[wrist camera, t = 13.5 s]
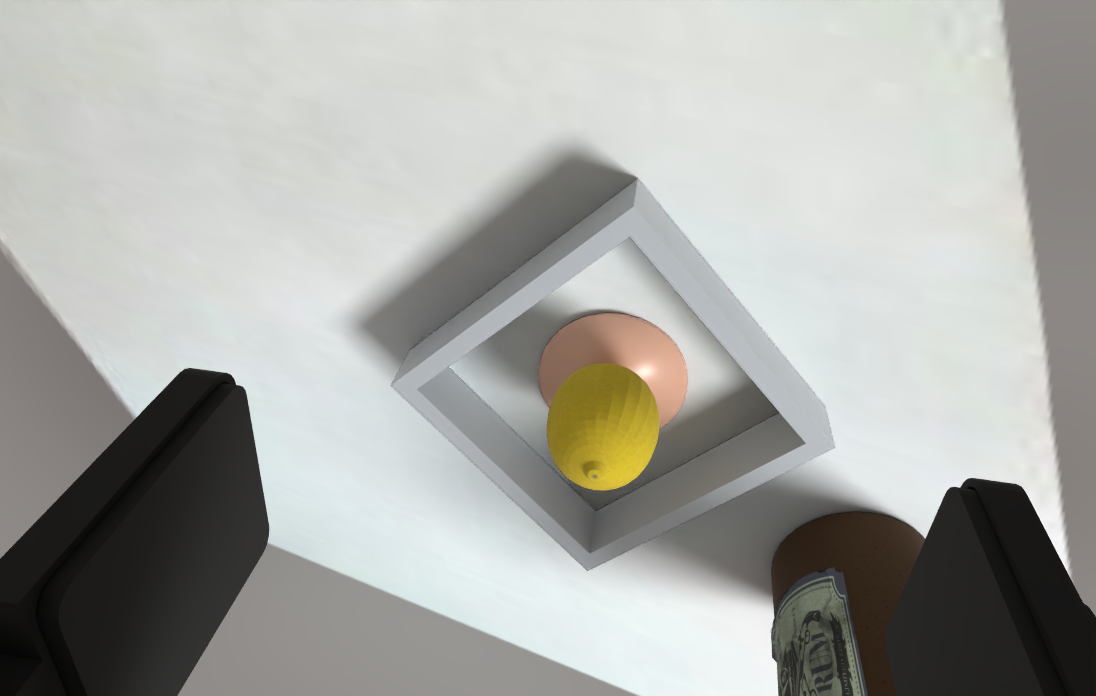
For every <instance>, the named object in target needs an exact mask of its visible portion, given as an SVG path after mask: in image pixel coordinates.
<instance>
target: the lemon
mask: <svg viewBox="0 0 1096 696" xmlns="http://www.w3.org/2000/svg"><path fill="white" fill-rule="evenodd" d="M659 424H660V418H659V412H658V408H657V403H656V400H655V397H654V395H653V393H652V391H651V390H650V388H649V386H648V385H647V383H646V382H645V381H644V380H643V379H642V378H641V377H640V376H639V375H638V374H636V373H635V372H633V371H631V370H630V369H628V368H626V367H623V366H621V365H618V364H612V363H596V364H592V365H589V366H586V367H583V368H581V369H579V370H577V371H576V372H574V373H573V374H571V375H570V376H569V377H568V378H567V379H566V380H565V381H564V382H563V383H562V384H561V386H560V387H559V388H558V390H557V392H556V394H555V396H554V398H553V400H552V403H551V405H550V408H549V414H548V421H547V437H548V443H549V449H550V453H551V455H552V457H553V459H554V462H555V464H556V466H557V467H558V468H559V469H560V471H561V472H562V473H563V474H564V475H565V476H566V477H567V478H568V479H569V480H571V481H572V482H574V483H575V484H578V485H580V486H582V487H584V488H588V489H592V490H603V491H605V490H611V489H617V488H619V487H622V486H624V485H626V484H628V483H630V482H631V481H632V480H634V479H635V478H637V477H638V476H639V475H640V473H641V472H642V471H643V470H644V469H645V467H646V466H647V465H648V463H649V461H650V459H651V457H652V454H653V452H654V449H655V447H656V444H657V441H658V435H659Z"/></svg>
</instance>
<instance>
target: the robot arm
mask: <svg viewBox="0 0 1096 696" xmlns="http://www.w3.org/2000/svg"><path fill="white" fill-rule="evenodd" d="M268 537H269V523H268V517H267V511H266V505H265V499H264V493H263V488H262V482H261V476H260V470H259V464H258V458H257V452H256V447H255V441H254V435H253V429H252V423H251V417H250V412H249V406H248V400H247V395H246V391H245V389H244V388H243V387H242V386H239V385H236V383H235V380H234V378H233V377H232V376H231V375H230V374H228V373H222V372H215V371H208V370H201V369H194V368H188V369H184V370H183V371H182V372H180V373H179V374H178V375H177V376H176V377H175V378H174V379H173V380H172V381H171V382H170V383H169V384H168V385H167V387H166V388H165V389H164V390H163V391H162V392H161V393H160V394H159V395H158V396H157V397H156V398H155V399H154V400H153V401H152V402H151V403H150V404H149V405H148V406H147V407H146V408H145V409H144V410H143V411H142V412H141V413H140V415H139V416H138V417H137V418H136V419H135V420H134V421H133V422H132V423H131V424H130V425H129V426H128V427H127V428H126V429H125V430H124V431H123V432H122V433H121V434H120V435H119V436H118V437H117V438H116V440H114V441H113V443H112V444H111V445H110V446H109V447H108V448H107V449H106V450H105V451H104V452H103V453H102V454H101V455H100V456H99V457H98V458H97V459H96V460H95V461H94V462H93V463H92V464H91V466H89V468H87V469H86V470H85V472H84V473H83V474H82V475H81V476H80V477H79V478H78V479H77V480H76V481H75V482H74V483H73V484H72V485H71V486H70V487H69V488H68V489H67V490H66V491H65V492H64V493H63V494H62V496H60V497H59V499H58V500H57V501H56V502H55V503H54V504H53V505H52V506H51V507H50V508H49V509H48V510H47V511H46V512H45V513H44V514H43V515H42V516H41V517H40V518H39V519H38V520H37V521H36V522H35V523H34V524H33V526H31V528H30V529H29V530H28V531H27V532H26V533H25V534H24V535H23V536H22V537H21V538H20V539H19V540H18V541H17V542H16V543H15V544H14V545H13V546H12V547H11V548H10V549H9V550H8V551H7V552H6V553H5V555H4V556H3V557H2V558H1V559H0V696H177V695H178V694H179V692H180V690H181V689H182V687H183V685H184V683H185V682H186V680H187V678H188V677H189V675H190V674H191V672H192V670H193V669H194V667H195V665H196V664H197V662H198V660H199V659H200V657H201V655H202V654H203V652H204V651H205V649H206V647H207V646H208V644H209V642H210V641H211V639H212V637H213V636H214V634H215V632H216V630H217V629H218V627H219V626H220V624H221V622H222V621H223V619H224V617H225V616H226V614H227V612H228V611H229V609H230V607H231V606H232V604H233V602H234V601H235V599H236V597H237V596H238V594H239V592H240V591H241V589H242V587H243V586H244V584H245V582H246V581H247V579H248V577H249V576H250V574H251V572H252V571H253V569H254V567H255V566H256V564H257V562H258V560H259V559H260V557H261V556H262V554H263V552H264V550H265V548H266V545H267V542H268ZM886 651H887V656H888V660H889V665H890V669H891V673H892V677H893V681H894V685H895V689H896V693H897V696H1096V617H1095V615H1094V614H1093V612H1092V611H1091V609H1090V608H1089V607H1088V606H1087V605H1085V604H1084V603H1083V602H1082V600H1081V598H1080V596H1079V594H1078V592H1077V590H1076V588H1075V586H1074V585H1073V583H1072V581H1071V579H1070V577H1069V575H1068V573H1067V571H1066V569H1065V567H1064V565H1063V563H1062V561H1061V559H1060V558H1059V556H1058V554H1057V552H1056V550H1055V548H1054V546H1053V544H1052V542H1051V540H1050V538H1049V536H1048V534H1047V532H1046V530H1045V529H1044V527H1043V525H1042V523H1041V521H1040V519H1039V517H1038V515H1037V513H1036V511H1035V509H1034V507H1033V505H1032V503H1031V501H1030V500H1029V498H1028V496H1027V494H1026V492H1025V491H1024V489H1023V488H1022V487H1021V486H1019V485H1017V484H1012V483H1005V482H997V481H990V480H983V479H976V478H969V479H967V480H966V481H965V482H964V483H963V484H962V486H961V488H958V487H951V488H950V489H948V490H947V492H946V494H945V496H944V498H943V500H942V503H941V505H940V507H939V509H938V512H937V514H936V516H935V519H934V521H933V523H932V526H931V528H930V530H929V532H928V535H927V537H926V539H925V542H924V544H923V546H922V548H921V551H920V553H919V555H918V558H917V560H916V562H915V564H914V567H913V569H912V571H911V574H910V576H909V578H908V580H907V583H906V585H905V587H904V590H903V592H902V594H901V596H900V599H899V601H898V603H897V606H896V608H895V610H894V612H893V615H892V617H891V619H890V622H889V624H888V627H887V633H886Z"/></svg>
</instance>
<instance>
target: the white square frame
mask: <svg viewBox="0 0 1096 696" xmlns="http://www.w3.org/2000/svg"><path fill="white" fill-rule="evenodd" d="M628 237H631V239H632V240H633V241H634V242H635V243H636V244H637V246H638V247H639V248H640V249H641V250H642V252H643V253H644V254H645V255H646V256H647V257H648V259H649V260H650V261H651V262H652V263H653V264H654V266H655V267H656V268H657V269H658V270H659V271H660V273H661V274H662V275H663V276H664V277H665V279H666V280H667V281H668V282H669V283H670V284H671V286H672V287H673V288H674V289H675V290H676V291H677V293H678V294H679V295H680V296H681V297H682V298H683V300H684V301H685V302H686V303H687V304H688V306H689V307H690V308H691V309H692V310H693V311H694V313H695V314H696V315H697V316H698V317H699V318H700V320H701V321H702V322H703V323H704V324H705V325H706V327H707V328H708V329H709V330H710V331H711V333H712V334H713V335H714V336H715V337H716V338H717V340H718V341H719V342H720V343H721V344H722V345H723V347H724V348H725V349H726V350H727V351H728V352H729V354H730V355H731V356H732V357H733V358H734V360H735V361H736V362H737V363H738V364H739V365H740V367H741V368H742V369H743V370H744V371H745V372H746V374H747V375H748V376H749V377H750V378H751V379H752V381H753V382H754V383H755V384H756V385H757V387H758V388H759V389H760V390H761V391H762V392H763V394H764V395H765V396H766V397H767V398H768V399H769V401H770V402H771V403H772V404H773V405H774V406H775V408H776V409H777V410H778V411H779V413H778V414H776V415H774V416H772V417H770V418H768V419H766V420H765V421H763V422H761V423H759V424H757V425H755V426H753V427H752V428H750V429H748V430H746V431H744V432H742V433H740V434H739V435H737V436H735V437H733V438H731V439H729V440H727V441H726V442H724V443H722V444H720V445H718V446H716V447H714V448H713V449H711V450H709V451H707V452H705V453H703V454H701V455H700V456H698V457H696V458H694V459H692V460H690V461H688V462H687V463H685V464H683V465H681V466H679V467H677V468H675V469H673V470H672V471H670V472H668V473H666V474H664V475H662V476H660V477H659V478H657V479H655V480H653V481H651V482H649V483H647V484H646V485H644V486H642V487H640V488H638V489H636V490H634V491H633V492H631V493H629V494H627V495H625V496H623V497H621V498H620V499H618V500H616V501H614V502H612V503H610V504H608V505H607V506H605V507H603V508H601V509H599V510H597V511H595V510H594V509H593V508H592V507H591V506H590V505H589V504H588V503H587V502H586V501H585V500H584V499H583V498H582V497H581V496H579V495H578V494H577V493H576V492H575V491H574V490H573V489H572V488H571V487H570V486H569V485H568V484H567V483H566V482H565V481H564V480H563V479H562V478H561V477H560V476H559V475H558V474H557V473H556V472H555V471H554V470H553V469H552V468H551V467H550V466H549V465H548V464H547V463H546V462H545V461H544V460H543V459H542V458H541V457H540V456H539V455H538V454H537V453H536V452H535V451H534V450H533V449H532V448H531V447H530V446H529V445H528V444H526V443H525V442H524V441H523V440H522V439H521V438H520V437H519V436H518V435H517V434H516V433H515V432H514V431H513V430H512V429H511V428H510V427H509V426H508V425H507V424H506V423H505V422H504V421H503V420H502V419H501V418H500V417H499V416H498V415H497V414H496V413H495V412H494V411H493V410H492V409H491V408H490V407H489V406H488V405H487V404H486V403H485V402H484V401H483V400H482V399H481V398H480V397H479V396H478V395H477V394H476V393H475V392H473V391H472V390H471V389H470V388H469V387H468V386H467V385H466V384H465V383H464V382H463V381H462V380H461V379H460V378H459V377H458V376H457V375H456V374H455V373H454V372H453V371H452V370H451V369H450V368H449V366H450V365H451V364H453V363H454V362H456V361H457V360H458V359H460V358H461V357H463V356H464V355H465V354H467V353H468V352H470V351H471V350H472V349H474V348H475V347H476V346H478V345H479V344H481V343H482V342H483V341H485V340H486V339H488V338H489V337H490V336H492V335H493V334H495V333H496V332H497V331H499V330H500V329H502V328H503V327H504V326H506V325H507V324H509V323H510V322H511V321H513V320H514V319H516V318H517V317H518V316H520V315H521V314H522V313H524V312H525V311H527V310H528V309H529V308H531V307H532V306H534V305H535V304H536V303H538V302H539V301H541V300H542V299H543V298H545V297H546V296H548V295H549V294H550V293H552V292H553V291H555V290H556V289H557V288H559V287H560V286H562V285H563V284H564V283H566V282H567V281H569V280H570V279H571V278H573V277H574V276H575V275H577V274H578V273H580V272H581V271H582V270H584V269H585V268H587V267H588V266H589V265H591V264H592V263H594V262H595V261H596V260H598V259H599V258H601V257H602V256H603V255H605V254H606V253H608V252H609V251H610V250H612V249H613V248H615V247H616V246H617V245H619V244H620V243H621V242H623V241H624V240H626V239H627V238H628ZM596 363H612V364H618V365H621V366H623V367H626V368H628V369H630V370H631V371H633V372H635V373H636V374H638V375H639V376H640V377H641V378H642V379H643V380H644V381H645V382H646V383H647V385H648V386H649V388H650V390H651V391H652V393H653V395H654V397H655V400H656V403H657V408H658V412H659V418H660V424H659V429H660V428H662V427H663V426H665V425H666V424H667V423H668V422H670V421H671V420H672V419H673V417H674V416H675V415H676V414H677V413H678V411H679V409H680V408H681V406H682V404H683V402H684V399H685V396H686V392H687V383H688V379H687V368H686V364H685V361H684V358H683V356H682V354H681V352H680V350H679V348H678V347H677V345H676V344H675V343H674V341H673V340H672V339H671V338H670V337H669V336H668V335H667V334H666V333H665V332H663V331H662V330H661V329H659V328H658V327H656V326H655V325H653V324H651V323H650V322H647V321H645V320H643V319H640V318H637V317H634V316H631V315H625V314H618V313H600V314H594V315H589V316H586V317H582V318H580V319H577V320H575V321H573V322H571V323H569V324H568V325H566V326H564V327H563V328H562V329H561V330H559V331H558V332H557V333H556V334H555V335H554V336H553V337H552V338H551V340H550V341H549V343H548V344H547V346H546V348H545V350H544V352H543V355H542V358H541V362H540V366H539V384H540V389H541V392H542V395H543V397H544V399H545V401H546V403H547V405H548V406H549V408H550V405H551V403H552V400H553V398H554V396H555V394H556V392H557V390H558V388H559V387H560V386H561V384H562V383H563V382H564V381H565V380H566V379H567V378H568V377H569V376H570V375H571V374H573V373H574V372H576V371H577V370H579V369H581V368H583V367H586V366H589V365H592V364H596ZM390 386H391V387H392V388H393V389H394V390H395V391H397V392H398V393H399V394H400V395H401V396H402V397H403V398H404V399H405V400H406V401H407V402H408V403H409V404H410V405H411V406H412V407H414V408H415V409H416V410H417V411H418V412H419V413H420V414H421V415H422V416H423V417H424V418H425V419H426V420H427V421H428V422H430V423H431V424H432V425H433V426H434V427H435V428H436V429H437V430H438V431H439V432H440V433H441V434H442V435H443V436H444V437H445V438H447V439H448V440H449V441H450V442H451V443H452V444H453V445H454V446H455V447H456V448H457V449H458V450H459V451H460V452H461V453H462V454H464V455H465V456H466V457H467V458H468V459H469V460H470V461H471V462H472V463H473V464H474V465H475V466H476V467H477V468H478V469H480V470H481V471H482V472H483V473H484V474H485V475H486V476H487V477H488V478H489V479H490V480H491V481H492V482H493V483H494V484H495V485H497V486H498V487H499V488H500V489H501V490H502V491H503V492H504V493H505V494H506V495H507V496H508V497H509V498H510V499H511V500H512V501H514V502H515V503H516V504H517V505H518V506H519V507H520V508H521V509H522V510H523V511H524V512H525V513H526V514H527V515H528V516H529V517H531V518H532V519H533V520H534V521H535V522H536V523H537V524H538V525H539V526H540V527H541V528H542V529H543V530H544V531H545V532H547V533H548V534H549V535H550V536H551V537H552V538H553V539H554V540H555V541H556V542H557V543H558V544H559V545H560V546H561V547H562V548H564V549H565V550H566V551H567V552H568V553H569V554H570V555H571V556H572V557H573V558H574V559H575V560H576V561H577V562H578V563H579V564H581V565H582V566H583V567H584V568H585V569H586V570H587V571H588V570H590V569H592V568H595V567H597V566H599V565H601V564H603V563H605V562H607V561H609V560H611V559H613V558H615V557H617V556H619V555H621V554H623V553H625V552H627V551H629V550H631V549H633V548H635V547H637V546H639V545H641V544H643V543H645V542H647V541H649V540H651V539H653V538H655V537H657V536H659V535H661V534H663V533H665V532H667V531H669V530H671V529H673V528H675V527H677V526H679V525H681V524H683V523H685V522H687V521H689V520H691V519H693V518H695V517H697V516H699V515H701V514H703V513H705V512H707V511H709V510H711V509H713V508H715V507H717V506H719V505H721V504H723V503H725V502H727V501H729V500H731V499H733V498H735V497H737V496H739V495H741V494H743V493H745V492H747V491H749V490H751V489H753V488H755V487H757V486H759V485H761V484H763V483H765V482H767V481H769V480H771V479H773V478H775V477H777V476H779V475H781V474H783V473H785V472H787V471H789V470H791V469H793V468H795V467H797V466H799V465H801V464H803V463H805V462H807V461H809V460H811V459H813V458H815V457H817V456H819V455H821V454H823V453H825V452H827V451H829V450H831V449H833V448H835V445H834V440H833V436H832V432H831V428H830V424H829V420H828V415H827V411H826V407H825V405H824V404H823V403H822V402H821V400H820V399H819V398H818V397H817V395H816V394H815V393H814V392H813V391H812V389H811V388H810V387H809V386H808V385H807V383H806V382H805V381H804V380H803V378H802V377H801V376H800V375H799V374H798V372H797V371H796V370H795V369H794V367H793V366H792V365H791V364H790V363H789V361H788V360H787V359H786V358H785V357H784V355H783V354H782V353H781V352H780V350H779V349H778V348H777V347H776V346H775V344H774V343H773V342H772V341H771V340H770V338H769V337H768V336H767V335H766V333H765V332H764V331H763V330H762V329H761V327H760V326H759V325H758V324H757V322H756V321H755V320H754V319H753V318H752V316H751V315H750V314H749V313H748V312H747V310H746V309H745V308H744V307H743V305H742V304H741V303H740V302H739V301H738V299H737V298H736V297H735V296H734V294H733V293H732V292H731V291H730V290H729V288H728V287H727V286H726V285H725V284H724V282H723V281H722V280H721V279H720V277H719V276H718V275H717V274H716V273H715V271H714V270H713V269H712V268H711V267H710V265H709V264H708V263H707V262H706V260H705V259H704V258H703V257H702V256H701V254H700V253H699V252H698V251H697V249H696V248H695V247H694V246H693V245H692V243H691V242H690V241H689V240H688V239H687V237H686V236H685V235H684V234H683V232H682V231H681V230H680V229H679V228H678V226H677V225H676V224H675V223H674V222H673V220H672V219H671V218H670V217H669V215H668V214H667V213H666V212H665V211H664V209H663V208H662V207H661V206H660V204H659V203H658V202H657V201H656V200H655V198H654V197H653V196H652V195H651V194H650V192H649V191H648V190H647V189H646V187H645V186H644V185H643V184H642V183H641V181H640V180H639V179H636V180H635V181H634V182H632V183H631V184H630V185H628V186H627V187H626V188H624V189H623V190H622V191H620V192H619V193H618V194H616V195H615V196H614V197H612V198H611V199H610V200H608V201H607V202H606V203H604V204H603V205H602V206H600V207H599V208H598V209H597V210H595V211H594V212H593V213H591V214H590V215H589V216H587V217H586V218H585V219H583V220H582V221H581V222H579V223H578V224H577V225H575V226H574V227H573V228H571V229H570V230H569V231H567V232H566V233H565V234H563V235H562V236H561V237H559V238H558V239H557V240H555V241H554V242H553V243H551V244H550V245H549V246H547V247H546V248H545V249H543V250H542V251H541V252H539V253H538V254H537V255H535V256H534V257H533V258H531V259H530V260H529V261H528V262H526V263H525V264H524V265H522V266H521V267H520V268H518V269H517V270H516V271H514V272H513V273H512V274H510V275H509V276H508V277H506V278H505V279H504V280H502V281H501V282H500V283H498V284H497V285H496V286H494V287H493V288H492V289H490V290H489V291H488V292H486V293H485V294H484V295H482V296H481V297H480V298H478V299H477V300H476V301H474V302H473V303H472V304H470V305H469V306H468V307H466V308H465V309H464V310H462V311H461V312H460V313H459V314H457V315H456V316H455V317H453V318H452V319H451V320H449V321H448V322H447V323H445V324H444V325H443V326H441V327H440V328H439V329H437V330H436V331H435V332H433V333H432V334H431V335H429V336H428V337H427V338H425V339H424V340H423V341H421V342H420V343H419V344H417V345H416V346H415V347H413V348H412V349H411V350H410V351H409V353H408V355H407V356H406V358H405V360H404V362H403V364H402V365H401V367H400V369H399V371H398V373H397V374H396V376H395V378H394V380H393V382H392V383H391V385H390Z"/></svg>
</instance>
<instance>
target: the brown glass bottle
mask: <svg viewBox="0 0 1096 696" xmlns="http://www.w3.org/2000/svg"><path fill="white" fill-rule="evenodd" d="M924 542H925V538H924V537H923V536H922V535H921V534H920V533H919V532H917V531H916V530H915V529H913V528H912V527H910V526H909V525H907V524H905V523H903V522H901V521H898V520H896V519H893V518H890V517H887V516H883V515H878V514H872V513H860V512H852V513H840V514H834V515H829V516H825V517H822V518H819V519H816V520H814V521H811V522H809V523H807V524H805V525H803V526H801V527H800V528H798V529H797V530H795V531H794V532H792V533H791V534H790V535H789V536H788V537H787V538H786V539H785V540H784V541H783V542H782V543H781V545H780V546H779V548H778V549H777V551H776V553H775V555H774V558H773V562H772V570H771V576H772V591H773V604H774V617H775V618H774V621H773V624H772V625H773V626H772V627H773V628H771V629H772V634H771V640H772V658H773V659H774V660H775V661H776V662H777V674H778V694H779V696H897V693H896V689H895V685H894V681H893V677H892V673H891V669H890V665H889V660H888V656H887V651H886V633H887V627H888V624H889V622H890V619H891V617H892V615H893V612H894V610H895V608H896V606H897V603H898V601H899V599H900V596H901V594H902V592H903V590H904V587H905V585H906V583H907V580H908V578H909V576H910V574H911V571H912V569H913V567H914V564H915V562H916V560H917V558H918V555H919V553H920V551H921V548H922V546H923V544H924Z"/></svg>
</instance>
